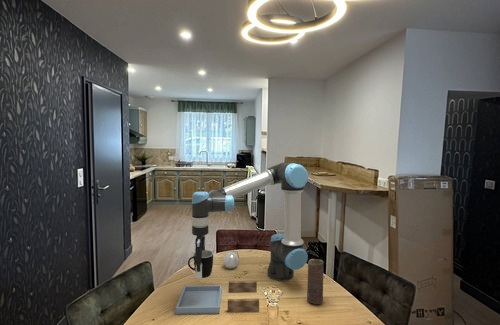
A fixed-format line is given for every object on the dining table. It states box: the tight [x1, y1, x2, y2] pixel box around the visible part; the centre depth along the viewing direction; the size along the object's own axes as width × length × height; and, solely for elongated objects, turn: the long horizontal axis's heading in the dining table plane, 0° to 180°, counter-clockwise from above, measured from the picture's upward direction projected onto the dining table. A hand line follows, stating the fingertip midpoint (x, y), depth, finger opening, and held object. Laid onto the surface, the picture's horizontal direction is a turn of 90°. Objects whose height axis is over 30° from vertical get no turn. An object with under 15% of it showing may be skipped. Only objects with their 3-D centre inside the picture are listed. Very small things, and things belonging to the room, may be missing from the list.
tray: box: [175, 284, 223, 316], centre depth 128 cm, size 19×19×3 cm
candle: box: [306, 258, 325, 305], centre depth 128 cm, size 8×7×20 cm
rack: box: [227, 280, 260, 313], centre depth 129 cm, size 14×18×5 cm
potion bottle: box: [222, 250, 240, 270], centre depth 167 cm, size 9×10×15 cm
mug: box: [187, 249, 214, 279], centre depth 127 cm, size 12×9×10 cm
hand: (200, 272), depth 127 cm, fingers closed on mug, 9 cm apart
